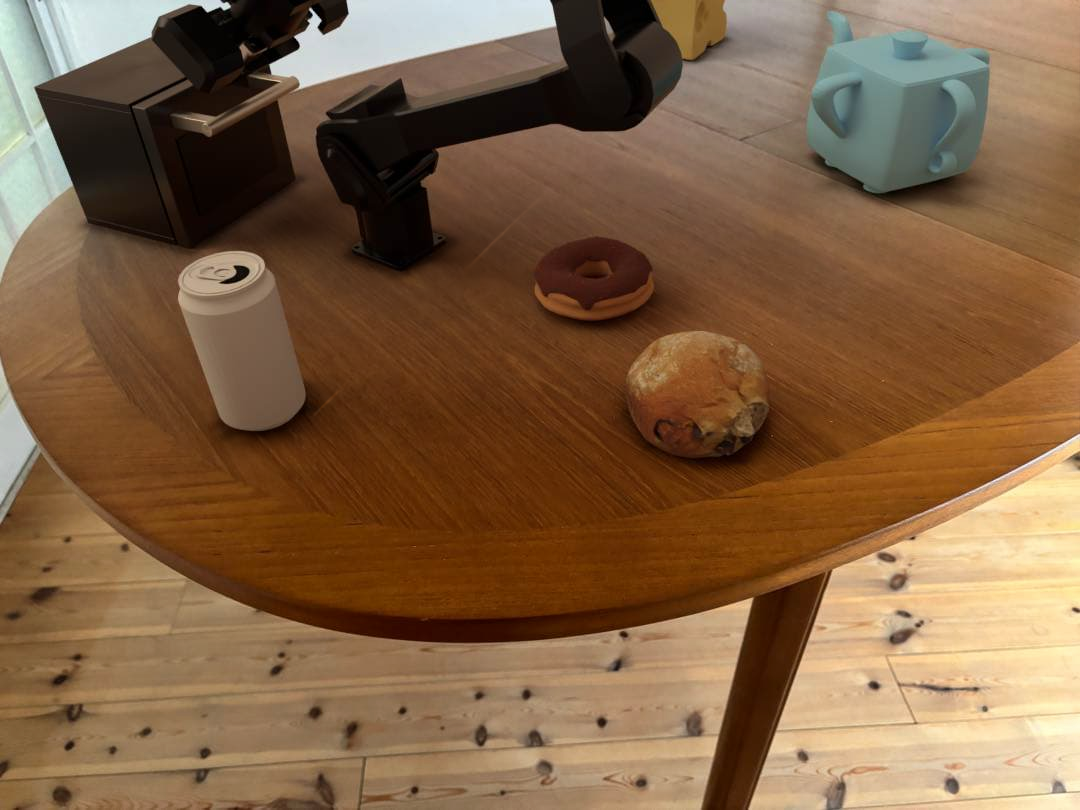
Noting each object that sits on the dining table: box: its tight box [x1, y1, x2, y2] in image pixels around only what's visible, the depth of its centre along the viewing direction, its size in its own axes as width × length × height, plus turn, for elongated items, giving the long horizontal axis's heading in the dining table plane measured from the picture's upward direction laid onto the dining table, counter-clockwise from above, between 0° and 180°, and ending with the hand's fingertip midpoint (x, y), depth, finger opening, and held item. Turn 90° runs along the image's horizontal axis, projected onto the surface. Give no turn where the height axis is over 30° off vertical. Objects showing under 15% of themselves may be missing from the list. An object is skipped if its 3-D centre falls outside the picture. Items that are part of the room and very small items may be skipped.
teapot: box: [805, 10, 991, 194], centre depth 90 cm, size 18×16×14 cm
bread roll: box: [625, 330, 770, 459], centre depth 64 cm, size 10×10×8 cm
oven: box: [33, 36, 188, 246], centre depth 91 cm, size 12×16×14 cm
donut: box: [532, 235, 655, 322], centre depth 77 cm, size 10×10×4 cm
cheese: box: [651, 0, 728, 61], centre depth 122 cm, size 10×11×10 cm
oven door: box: [132, 64, 301, 249], centre depth 88 cm, size 7×16×14 cm, turn 153°
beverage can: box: [177, 250, 307, 432], centre depth 64 cm, size 6×6×12 cm
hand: (223, 81), depth 84 cm, fingers closed
